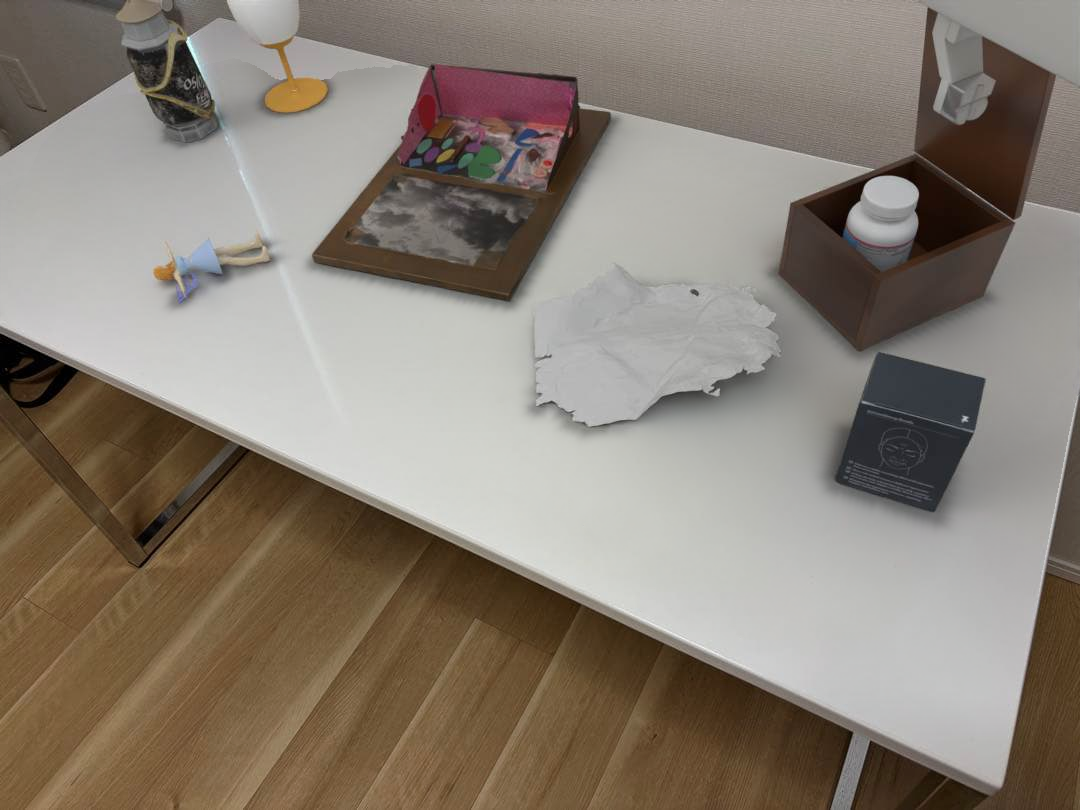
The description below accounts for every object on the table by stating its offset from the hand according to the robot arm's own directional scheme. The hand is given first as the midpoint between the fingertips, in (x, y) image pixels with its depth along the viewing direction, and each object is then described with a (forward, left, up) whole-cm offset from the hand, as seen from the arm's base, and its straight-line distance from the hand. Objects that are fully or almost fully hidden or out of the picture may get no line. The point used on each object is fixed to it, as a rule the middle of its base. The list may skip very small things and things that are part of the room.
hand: (1036, 164), depth 35 cm
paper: (+12, -25, -35) cm, 45 cm away
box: (-5, -7, -35) cm, 36 cm away
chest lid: (-17, -31, -18) cm, 40 cm away
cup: (+51, -83, -35) cm, 104 cm away
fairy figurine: (+57, -46, -35) cm, 81 cm away
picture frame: (+27, -55, -35) cm, 71 cm away
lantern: (+65, -78, -35) cm, 107 cm away
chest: (-12, -29, -35) cm, 47 cm away
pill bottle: (-10, -28, -34) cm, 46 cm away
